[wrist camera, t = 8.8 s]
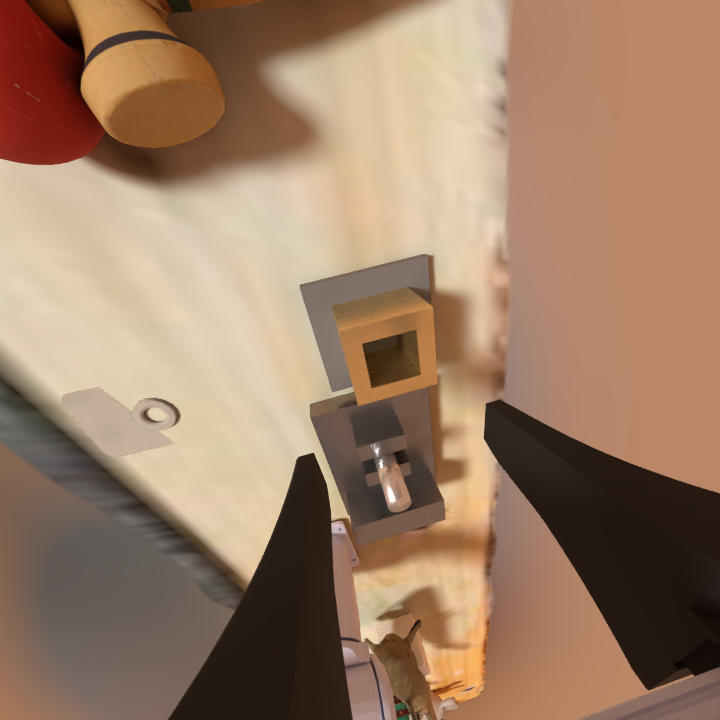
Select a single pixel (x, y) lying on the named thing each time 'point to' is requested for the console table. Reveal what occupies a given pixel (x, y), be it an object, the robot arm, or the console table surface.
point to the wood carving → (405, 664)
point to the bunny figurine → (440, 706)
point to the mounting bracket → (119, 421)
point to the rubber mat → (352, 288)
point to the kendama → (101, 77)
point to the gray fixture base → (381, 462)
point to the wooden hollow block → (395, 364)
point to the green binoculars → (401, 709)
